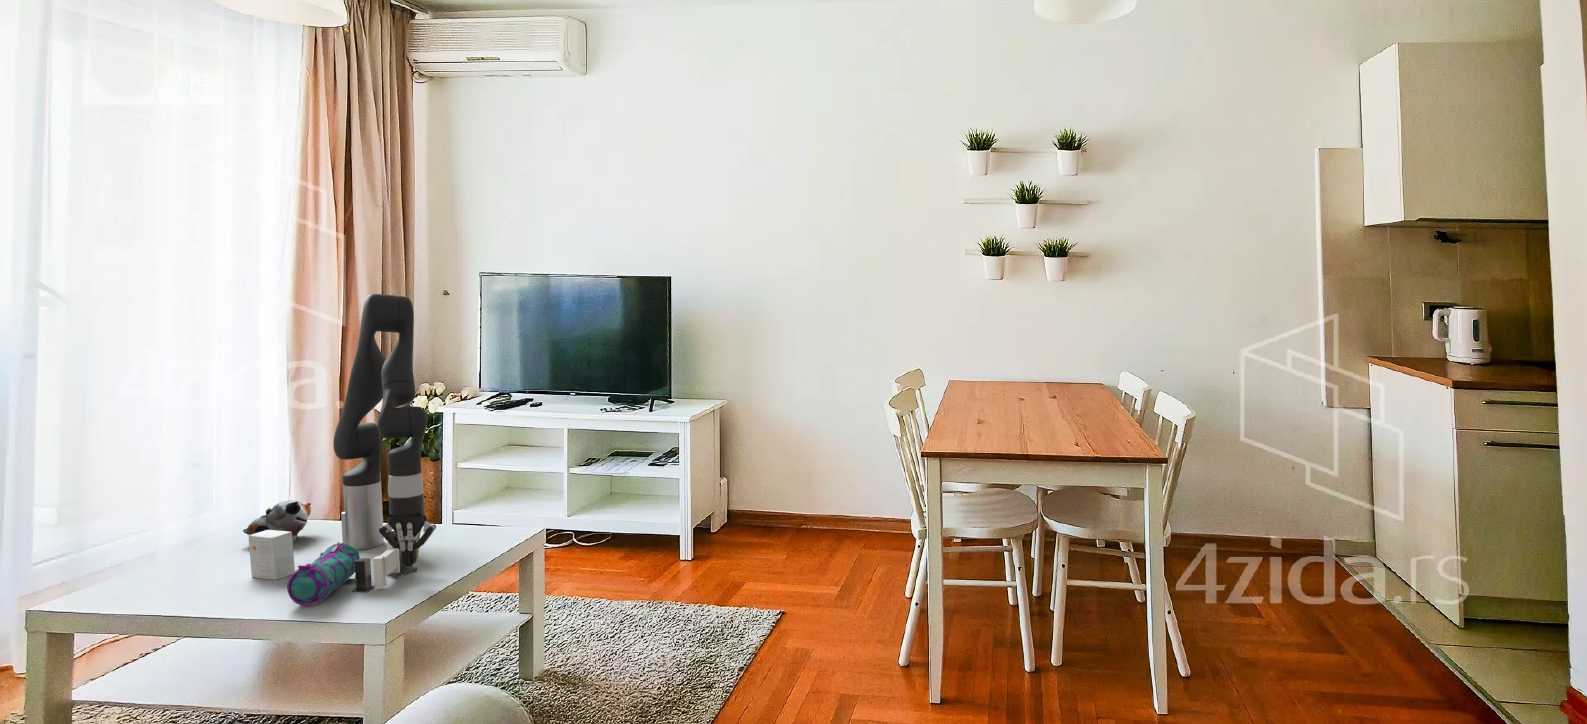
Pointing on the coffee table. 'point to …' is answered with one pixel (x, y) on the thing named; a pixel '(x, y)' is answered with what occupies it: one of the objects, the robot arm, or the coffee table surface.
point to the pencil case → (322, 575)
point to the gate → (385, 566)
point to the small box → (271, 554)
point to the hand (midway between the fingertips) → (409, 565)
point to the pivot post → (402, 566)
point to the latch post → (363, 575)
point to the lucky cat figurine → (282, 518)
